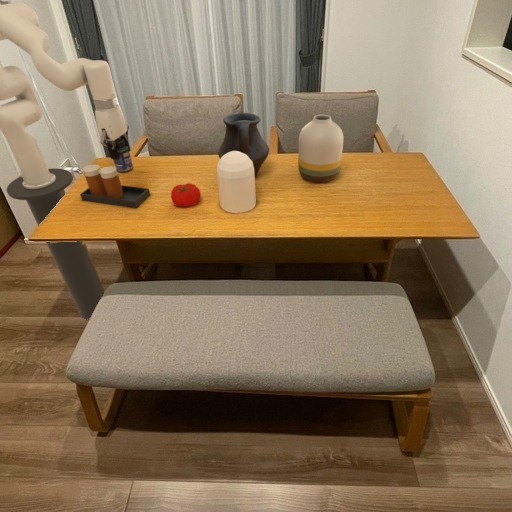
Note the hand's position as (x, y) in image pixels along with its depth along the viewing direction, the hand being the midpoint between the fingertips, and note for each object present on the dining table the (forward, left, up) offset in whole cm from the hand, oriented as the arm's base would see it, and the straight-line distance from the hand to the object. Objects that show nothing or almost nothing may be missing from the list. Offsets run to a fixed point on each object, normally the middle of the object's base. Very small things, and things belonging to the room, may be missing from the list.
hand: (120, 154), depth 137 cm
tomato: (+21, +3, -19) cm, 29 cm away
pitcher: (+35, +30, -19) cm, 50 cm away
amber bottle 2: (-8, 0, -18) cm, 19 cm away
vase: (+65, +35, -19) cm, 77 cm away
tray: (-8, 0, -19) cm, 20 cm away
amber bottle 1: (-15, 0, -18) cm, 23 cm away
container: (+40, +7, -19) cm, 45 cm away
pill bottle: (0, 0, -6) cm, 6 cm away
